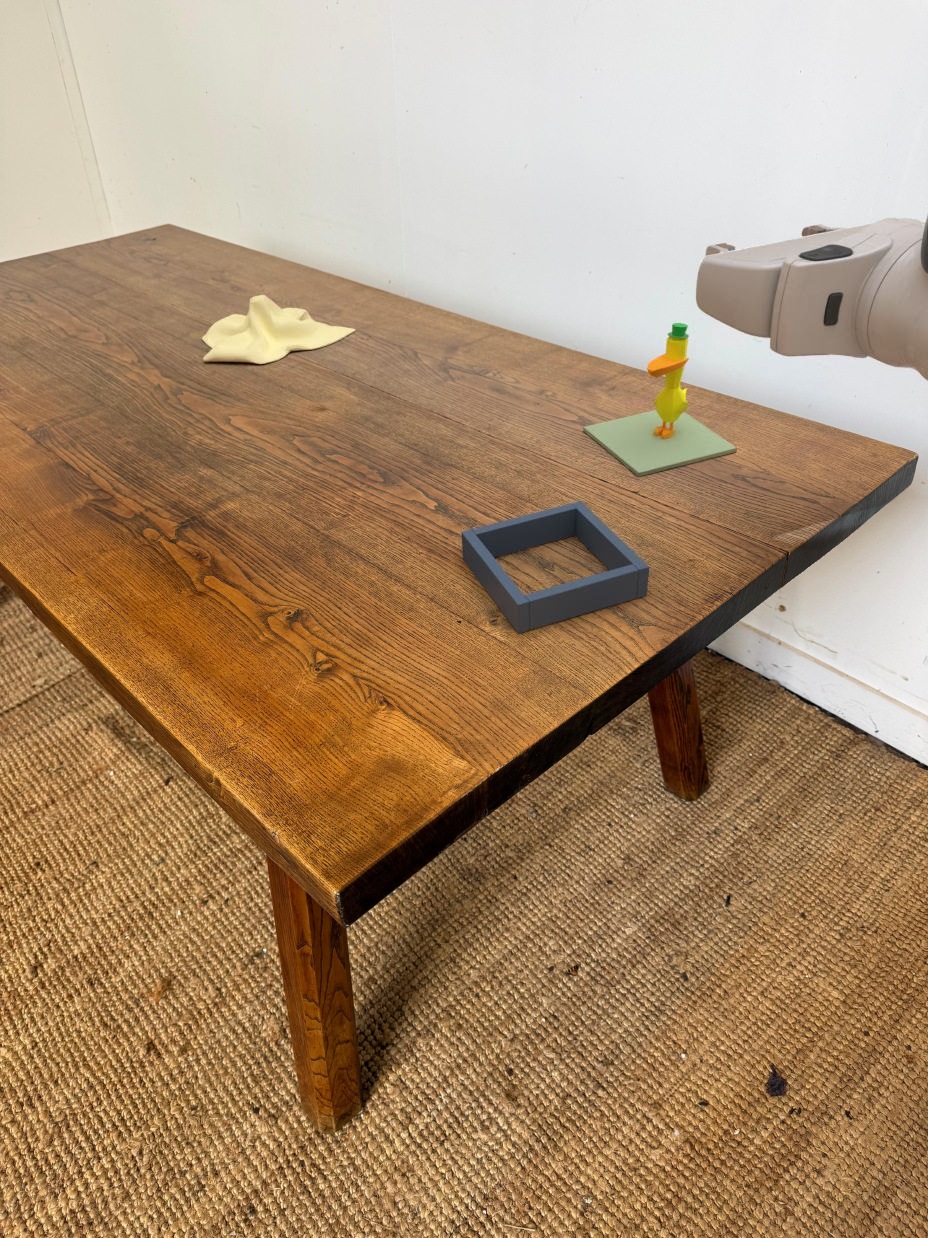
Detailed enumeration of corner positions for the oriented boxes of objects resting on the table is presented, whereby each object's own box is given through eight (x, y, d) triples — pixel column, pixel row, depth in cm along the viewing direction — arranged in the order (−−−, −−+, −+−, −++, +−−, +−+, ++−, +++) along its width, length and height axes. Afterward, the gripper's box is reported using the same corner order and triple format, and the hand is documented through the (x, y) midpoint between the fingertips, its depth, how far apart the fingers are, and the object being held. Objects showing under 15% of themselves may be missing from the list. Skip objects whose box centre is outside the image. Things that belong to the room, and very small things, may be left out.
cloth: (211, 375, 118) (200, 330, 114) (187, 332, 131) (177, 290, 127) (368, 343, 124) (363, 299, 120) (330, 305, 138) (324, 265, 134)
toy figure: (655, 450, 94) (666, 339, 87) (630, 439, 96) (638, 330, 89) (695, 429, 97) (708, 321, 90) (669, 419, 99) (680, 313, 92)
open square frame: (579, 527, 83) (580, 500, 82) (646, 595, 75) (649, 566, 73) (462, 559, 80) (461, 531, 78) (518, 634, 71) (517, 604, 69)
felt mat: (674, 409, 103) (674, 405, 102) (736, 451, 94) (737, 447, 94) (583, 430, 99) (583, 426, 99) (638, 476, 91) (638, 472, 90)
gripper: (1012, 218, 63) (870, 184, 73) (777, 267, 57) (658, 222, 67) (985, 307, 66) (853, 263, 77) (763, 361, 61) (652, 306, 71)
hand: (761, 244), depth 72 cm, fingers open, 8 cm apart
